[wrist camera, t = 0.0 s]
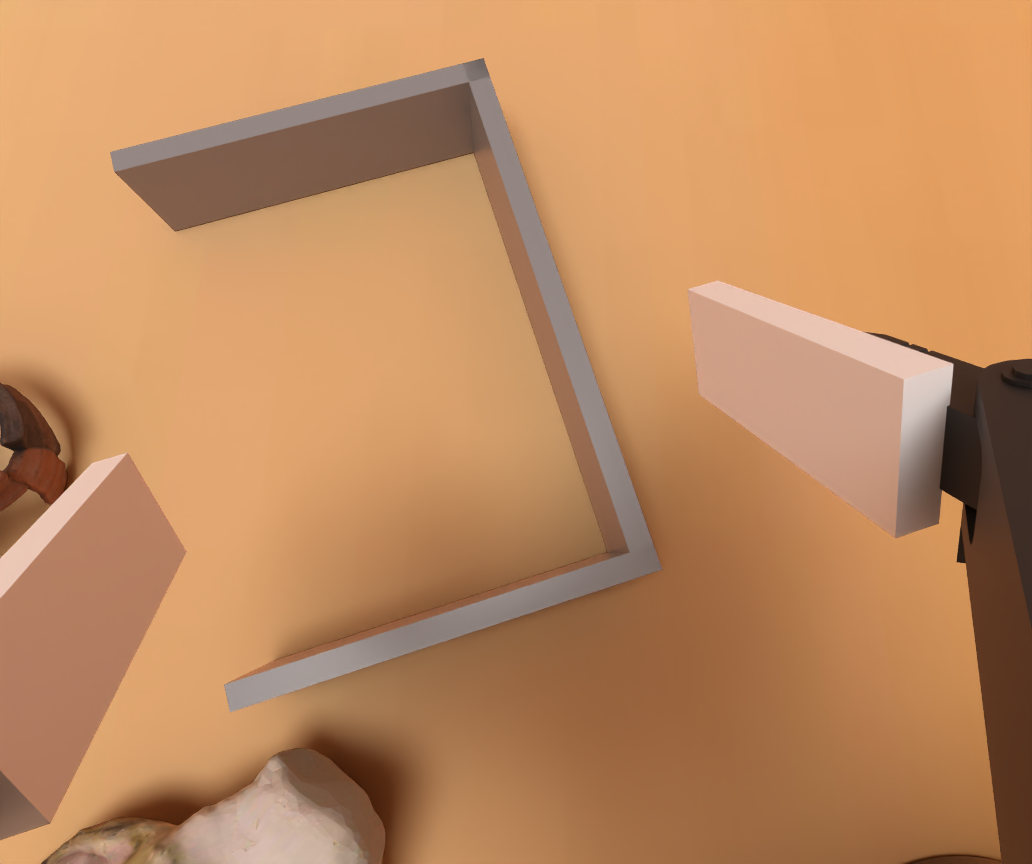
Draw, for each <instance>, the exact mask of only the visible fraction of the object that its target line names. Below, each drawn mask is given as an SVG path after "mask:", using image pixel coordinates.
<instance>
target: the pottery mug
mask: <svg viewBox="0 0 1032 864" xmlns="http://www.w3.org/2000/svg"><path fill="white" fill-rule="evenodd" d="M0 427H1V438H0V444H1V445H2V446H4V447H6V448H9V449H11V450H13V451H14V453H13V455H12V457H11V459H10V461H9V464H8V466H7V468H6V469H5V470H3V471H0V511H2V510H3V509H5V508H6V507H8V506H9V505H11V504H12V503H13V502H14V501H16V500H17V499H18V498H19V497H20V496H21V495H22V494H23V493H25V492H26V491H27V489H30V490H32V491H34V492H37V493H38V494H39V495H40V497H41V498H42V499H43V500H44V502H45V503H47V504H53V503H54V502H55V501H56V500H57V499H58V498H59V497H60V496H61V495H62V493H63V490H64V487H65V484H66V481H67V473H66V471H65V463H64V462H62V461H61V460H60V459H59V458H58V455H59V453H60V451H61V449H60V444H59V442H58V440H57V439H56V436H55V435H54V433H53V431H52V429H51V428H50V426H49V425H48V423H47V421H46V420H45V418H44V417H43V416H42V415H41V413H40V412H39V410H38V409H37V408H36V407H35V406H34V405H33V404H32V403H31V402H30V401H29V400H28V399H27V398H26V397H25V396H23V395H22V394H21V393H20V392H18V391H17V390H16V389H14V388H13V387H11V386H9V385H3V384H1V383H0Z"/></svg>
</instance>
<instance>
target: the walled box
mask: <svg viewBox="0 0 1032 864" xmlns="http://www.w3.org/2000/svg"><path fill="white" fill-rule="evenodd" d="M473 152H474V155H475V158H476V161H477V164H478V167H479V170H480V173H481V176H482V179H483V182H484V185H485V188H486V191H487V194H488V197H489V200H490V203H491V206H492V209H493V212H494V215H495V218H496V221H497V224H498V227H499V230H500V233H501V236H502V239H503V242H504V245H505V248H506V251H507V253H508V256H509V259H510V262H511V265H512V268H513V271H514V274H515V277H516V280H517V283H518V286H519V289H520V292H521V295H522V298H523V301H524V304H525V307H526V310H527V313H528V316H529V319H530V322H531V325H532V328H533V331H534V334H535V337H536V340H537V343H538V346H539V349H540V352H541V355H542V358H543V361H544V364H545V367H546V370H547V373H548V376H549V379H550V382H551V385H552V388H553V391H554V394H555V397H556V400H557V402H558V405H559V408H560V411H561V414H562V417H563V420H564V423H565V426H566V429H567V432H568V435H569V438H570V441H571V444H572V447H573V450H574V453H575V456H576V459H577V462H578V465H579V468H580V471H581V474H582V477H583V480H584V483H585V486H586V489H587V492H588V495H589V498H590V501H591V504H592V507H593V510H594V513H595V516H596V519H597V522H598V525H599V528H600V531H601V534H602V537H603V540H604V543H605V546H606V549H607V551H608V552H607V553H604V554H600V555H597V556H594V557H591V558H588V559H585V560H582V561H579V562H576V563H573V564H570V565H567V566H564V567H560V568H557V569H554V570H551V571H548V572H545V573H542V574H539V575H536V576H533V577H530V578H527V579H524V580H520V581H517V582H514V583H511V584H508V585H505V586H502V587H499V588H496V589H493V590H490V591H487V592H484V593H480V594H477V595H474V596H471V597H468V598H465V599H462V600H459V601H456V602H453V603H450V604H447V605H444V606H440V607H437V608H434V609H431V610H428V611H425V612H422V613H419V614H416V615H413V616H410V617H407V618H404V619H400V620H397V621H394V622H391V623H388V624H385V625H382V626H379V627H376V628H373V629H370V630H367V631H364V632H360V633H357V634H354V635H351V636H348V637H345V638H342V639H339V640H336V641H333V642H330V643H327V644H323V645H320V646H317V647H314V648H311V649H308V650H305V651H302V652H299V653H296V654H293V655H290V656H287V657H283V658H280V659H277V660H274V661H272V662H270V663H268V664H266V665H264V666H262V667H260V668H258V669H256V670H253V671H251V672H249V673H247V674H245V675H243V676H241V677H239V678H237V679H235V680H233V681H231V682H229V683H227V684H225V685H224V686H225V690H226V695H227V700H228V704H229V709H230V712H232V711H235V710H238V709H241V708H244V707H247V706H250V705H254V704H257V703H260V702H263V701H266V700H269V699H272V698H275V697H278V696H281V695H284V694H287V693H290V692H293V691H296V690H299V689H302V688H305V687H308V686H311V685H314V684H317V683H320V682H323V681H326V680H329V679H332V678H335V677H338V676H341V675H344V674H347V673H351V672H354V671H357V670H360V669H363V668H366V667H369V666H372V665H375V664H378V663H381V662H384V661H387V660H390V659H393V658H396V657H399V656H402V655H405V654H408V653H411V652H414V651H417V650H420V649H423V648H426V647H429V646H432V645H435V644H438V643H441V642H444V641H447V640H451V639H454V638H457V637H460V636H463V635H466V634H469V633H472V632H475V631H478V630H481V629H484V628H487V627H490V626H493V625H496V624H499V623H502V622H505V621H508V620H511V619H514V618H517V617H520V616H523V615H526V614H529V613H532V612H535V611H538V610H541V609H544V608H548V607H551V606H554V605H557V604H560V603H563V602H566V601H569V600H572V599H575V598H578V597H581V596H584V595H587V594H590V593H593V592H596V591H599V590H602V589H605V588H608V587H611V586H614V585H617V584H620V583H623V582H626V581H629V580H632V579H635V578H638V577H641V576H645V575H648V574H651V573H654V572H657V571H660V570H662V567H661V564H660V561H659V559H658V556H657V553H656V550H655V547H654V544H653V541H652V539H651V536H650V533H649V530H648V527H647V524H646V521H645V519H644V516H643V513H642V510H641V507H640V504H639V501H638V499H637V496H636V493H635V490H634V487H633V484H632V481H631V479H630V476H629V473H628V470H627V467H626V464H625V461H624V459H623V456H622V453H621V450H620V447H619V444H618V441H617V439H616V436H615V433H614V430H613V427H612V424H611V421H610V419H609V416H608V413H607V410H606V407H605V404H604V401H603V398H602V396H601V393H600V390H599V387H598V384H597V381H596V378H595V376H594V373H593V370H592V367H591V364H590V361H589V358H588V356H587V353H586V350H585V347H584V344H583V341H582V338H581V336H580V333H579V330H578V327H577V324H576V321H575V318H574V316H573V313H572V310H571V307H570V304H569V301H568V298H567V296H566V293H565V290H564V287H563V284H562V281H561V278H560V276H559V273H558V270H557V267H556V264H555V261H554V258H553V256H552V253H551V250H550V247H549V244H548V241H547V238H546V236H545V233H544V230H543V227H542V224H541V221H540V218H539V216H538V213H537V210H536V207H535V204H534V201H533V198H532V196H531V193H530V190H529V187H528V184H527V181H526V178H525V176H524V173H523V170H522V167H521V164H520V161H519V158H518V156H517V153H516V150H515V147H514V144H513V141H512V138H511V136H510V133H509V130H508V127H507V124H506V121H505V118H504V116H503V113H502V110H501V107H500V104H499V101H498V98H497V96H496V93H495V90H494V87H493V84H492V81H491V78H490V76H489V73H488V70H487V67H486V64H485V61H484V58H483V59H479V60H475V61H471V62H467V63H463V64H459V65H455V66H451V67H447V68H443V69H439V70H435V71H431V72H427V73H423V74H419V75H415V76H411V77H407V78H403V79H399V80H395V81H391V82H387V83H383V84H379V85H375V86H371V87H367V88H363V89H359V90H355V91H351V92H347V93H343V94H339V95H335V96H331V97H327V98H323V99H319V100H315V101H311V102H308V103H304V104H300V105H296V106H292V107H288V108H284V109H280V110H276V111H272V112H268V113H264V114H260V115H256V116H252V117H248V118H244V119H240V120H236V121H232V122H228V123H224V124H220V125H216V126H212V127H208V128H204V129H200V130H196V131H192V132H188V133H184V134H180V135H176V136H172V137H168V138H164V139H160V140H156V141H152V142H148V143H144V144H140V145H136V146H132V147H128V148H124V149H120V150H116V151H112V152H110V154H111V158H112V163H113V168H114V172H115V173H116V174H117V175H118V176H119V177H120V178H121V179H122V180H123V181H124V182H125V183H126V184H127V185H128V186H129V187H130V188H131V189H132V190H133V191H134V192H135V193H136V194H138V195H139V196H140V197H141V198H142V199H143V200H144V201H145V202H146V203H147V204H148V205H149V206H150V207H151V208H152V209H153V210H154V211H155V212H156V213H157V214H158V215H159V216H160V217H161V218H162V219H163V220H164V221H165V222H166V223H167V224H168V225H169V226H170V227H171V228H172V229H173V230H174V231H178V230H181V229H185V228H189V227H193V226H196V225H200V224H204V223H208V222H212V221H215V220H219V219H223V218H227V217H231V216H234V215H238V214H242V213H246V212H250V211H253V210H257V209H261V208H265V207H268V206H272V205H276V204H280V203H284V202H287V201H291V200H295V199H299V198H303V197H306V196H310V195H314V194H318V193H322V192H325V191H329V190H333V189H337V188H340V187H344V186H348V185H352V184H356V183H359V182H363V181H367V180H371V179H375V178H378V177H382V176H386V175H390V174H394V173H397V172H401V171H405V170H409V169H412V168H416V167H420V166H424V165H428V164H431V163H435V162H439V161H443V160H447V159H450V158H454V157H458V156H462V155H466V154H469V153H473Z"/></svg>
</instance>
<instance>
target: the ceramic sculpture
mask: <svg viewBox="0 0 1032 864" xmlns="http://www.w3.org/2000/svg"><path fill="white" fill-rule="evenodd" d="M384 848H385V829H384V826H383V822H382V820H381V819H380V818H379V816H378V815H377V813H376V812H375V811H374V809H373V807H372V804H371V802H370V799H369V796H368V795H367V794H366V792H365V791H364V790H363V788H361V787H360V786H359V785H358V784H357V783H356V782H354V781H353V780H352V779H351V778H350V777H349V776H348V775H346V774H345V773H344V772H343V771H342V770H341V769H340V768H339V767H338V766H337V765H336V764H335V763H334V762H333V761H332V760H331V759H330V758H328V757H326V756H323V755H321V754H320V753H319V752H317V751H316V750H313V749H309V748H296V749H292V750H287V751H282V752H279V753H277V754H276V755H274V756H272V757H271V758H270V759H269V760H268V762H267V764H266V766H265V767H264V768H263V769H262V770H261V771H260V772H259V774H258V775H257V777H256V778H255V780H254V781H253V782H252V783H251V784H249V785H247V786H246V787H244V788H243V789H241V790H240V791H238V792H237V793H235V794H234V795H232V796H230V797H227V798H225V799H223V800H222V801H220V802H218V803H217V804H215V805H209V806H205V807H203V808H202V809H200V810H199V811H198V812H196V813H194V814H193V815H192V816H191V817H189V818H188V819H187V820H186V821H184V822H183V823H182V824H180V825H173V824H171V823H168V822H165V821H160V820H154V819H148V818H140V817H119V818H115V819H111V820H109V821H107V822H104V823H101V824H98V825H95V826H92V827H89V828H85V829H82V830H80V831H79V832H78V833H77V834H76V835H75V836H74V837H73V838H71V839H70V840H68V841H67V842H65V843H64V844H63V845H62V846H61V847H60V848H59V849H58V850H56V851H55V852H54V853H53V854H51V855H50V856H49V857H48V858H47V859H46V860H45V861H43V862H42V863H41V864H382V858H383V853H384Z"/></svg>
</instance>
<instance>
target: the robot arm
mask: <svg viewBox="0 0 1032 864" xmlns="http://www.w3.org/2000/svg"><path fill="white" fill-rule="evenodd" d="M688 298H689V307H690V316H691V325H692V335H693V344H694V353H695V363H696V372H697V381H698V390H699V395H701V396H702V397H703V398H705V399H706V400H707V401H709V402H710V403H711V404H713V405H714V406H716V407H717V408H718V409H720V410H721V411H722V412H724V413H725V414H726V415H728V416H729V417H731V418H732V419H733V420H735V421H736V422H737V423H739V424H740V425H741V426H743V427H744V428H746V429H747V430H748V431H750V432H751V433H752V434H754V435H755V436H756V437H758V438H759V439H761V440H762V441H763V442H765V443H766V444H767V445H769V446H770V447H771V448H773V449H774V450H776V451H777V452H778V453H780V454H781V455H782V456H784V457H785V458H786V459H788V460H789V461H791V462H792V463H793V464H795V465H796V466H797V467H799V468H800V469H801V470H803V471H804V472H806V473H807V474H808V475H810V476H811V477H812V478H814V479H815V480H817V481H818V482H819V483H821V484H822V485H823V486H825V487H826V488H827V489H829V490H830V491H832V492H833V493H834V494H836V495H837V496H838V497H840V498H841V499H842V500H844V501H845V502H847V503H848V504H849V505H851V506H852V507H853V508H855V509H856V510H857V511H859V512H860V513H862V514H863V515H864V516H866V517H867V518H868V519H870V520H871V521H872V522H874V523H875V524H877V525H878V526H879V527H881V528H882V529H883V530H885V531H886V532H887V533H889V534H890V535H892V536H893V537H894V538H897V537H900V536H903V535H906V534H909V533H912V532H915V531H918V530H921V529H924V528H927V527H930V526H933V525H936V524H939V516H940V505H941V494H942V490H943V491H945V492H946V493H948V494H950V495H951V496H953V497H955V498H956V499H958V500H960V501H962V502H963V510H962V519H961V528H960V537H959V546H958V555H957V562H960V563H966V569H967V577H968V585H969V594H970V602H971V610H972V618H973V627H974V635H975V643H976V652H977V660H978V668H979V677H980V685H981V693H982V701H983V710H984V718H985V726H986V735H987V743H988V751H989V760H990V768H991V776H992V784H993V793H994V801H995V809H996V818H997V826H998V834H999V843H1000V851H1001V859H1002V862H1000V861H996V860H992V859H987V858H981V857H972V856H947V857H938V858H932V859H927V860H923V861H919V862H916V863H913V864H1032V359H1021V360H1009V361H1004V362H1000V363H996V364H992V365H989V366H988V367H986V368H981V367H978V366H975V365H972V364H969V363H967V362H964V361H961V360H958V359H955V358H952V357H949V356H946V355H943V354H940V353H937V352H934V351H930V352H928V350H927V349H926V348H923V347H920V346H917V345H914V344H912V345H909V343H908V342H905V341H902V340H899V339H897V338H894V337H891V336H888V335H884V334H876V333H868V332H862V331H859V330H856V329H853V328H851V327H848V326H845V325H842V324H839V323H836V322H834V321H831V320H828V319H825V318H822V317H819V316H817V315H814V314H811V313H808V312H805V311H802V310H800V309H797V308H794V307H791V306H788V305H785V304H783V303H780V302H777V301H774V300H771V299H768V298H766V297H763V296H760V295H757V294H754V293H751V292H749V291H746V290H743V289H740V288H737V287H734V286H732V285H729V284H726V283H723V282H720V281H715V282H711V283H708V284H704V285H701V286H697V287H694V288H691V289H688ZM185 554H186V550H185V549H184V547H183V545H182V544H181V542H180V540H179V538H178V537H177V535H176V533H175V532H174V530H173V528H172V527H171V525H170V523H169V522H168V520H167V518H166V516H165V515H164V513H163V511H162V510H161V508H160V506H159V505H158V503H157V501H156V500H155V498H154V496H153V494H152V493H151V491H150V489H149V488H148V486H147V484H146V483H145V481H144V479H143V478H142V476H141V474H140V472H139V471H138V469H137V467H136V466H135V464H134V462H133V461H132V459H131V457H130V456H129V454H128V453H125V454H121V455H118V456H114V457H111V458H108V459H104V460H101V461H97V462H94V463H92V464H91V465H90V466H89V467H88V468H87V469H86V470H85V471H84V472H83V473H82V474H81V475H80V476H79V477H78V478H77V479H76V480H75V481H74V482H73V484H72V485H71V486H70V487H69V488H68V489H67V490H66V491H65V492H64V493H63V494H62V495H61V496H60V497H59V498H58V499H57V500H56V501H55V502H54V503H53V504H52V505H51V506H50V507H49V508H48V510H47V511H46V512H45V513H44V514H43V515H42V516H41V517H40V518H39V519H38V520H37V521H36V522H35V523H34V524H33V525H32V526H31V527H30V528H29V529H28V530H27V531H26V532H25V533H24V534H23V536H22V537H21V538H20V539H19V540H18V541H17V542H16V543H15V544H14V545H13V546H12V547H11V548H10V549H9V550H8V551H7V552H6V553H5V554H4V555H3V556H2V557H1V558H0V840H2V839H5V838H8V837H11V836H14V835H17V834H20V833H23V832H26V831H29V830H32V829H35V828H38V827H41V826H44V825H47V824H50V823H51V821H52V819H53V817H54V815H55V813H56V811H57V809H58V807H59V805H60V803H61V801H62V799H63V797H64V795H65V793H66V791H67V789H68V787H69V785H70V783H71V781H72V779H73V777H74V775H75V773H76V771H77V769H78V767H79V765H80V763H81V761H82V759H83V757H84V755H85V753H86V751H87V749H88V747H89V745H90V743H91V741H92V739H93V737H94V735H95V733H96V731H97V729H98V727H99V725H100V723H101V721H102V719H103V717H104V715H105V713H106V711H107V709H108V707H109V705H110V703H111V701H112V699H113V697H114V695H115V693H116V691H117V689H118V687H119V685H120V683H121V681H122V679H123V677H124V675H125V673H126V671H127V669H128V667H129V665H130V663H131V661H132V659H133V657H134V655H135V653H136V651H137V649H138V647H139V645H140V643H141V641H142V639H143V637H144V635H145V633H146V631H147V629H148V627H149V625H150V623H151V621H152V619H153V617H154V615H155V613H156V611H157V609H158V607H159V605H160V603H161V601H162V599H163V597H164V595H165V593H166V591H167V589H168V587H169V585H170V583H171V581H172V579H173V577H174V575H175V573H176V571H177V569H178V567H179V565H180V563H181V562H182V560H183V558H184V556H185Z"/></svg>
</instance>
